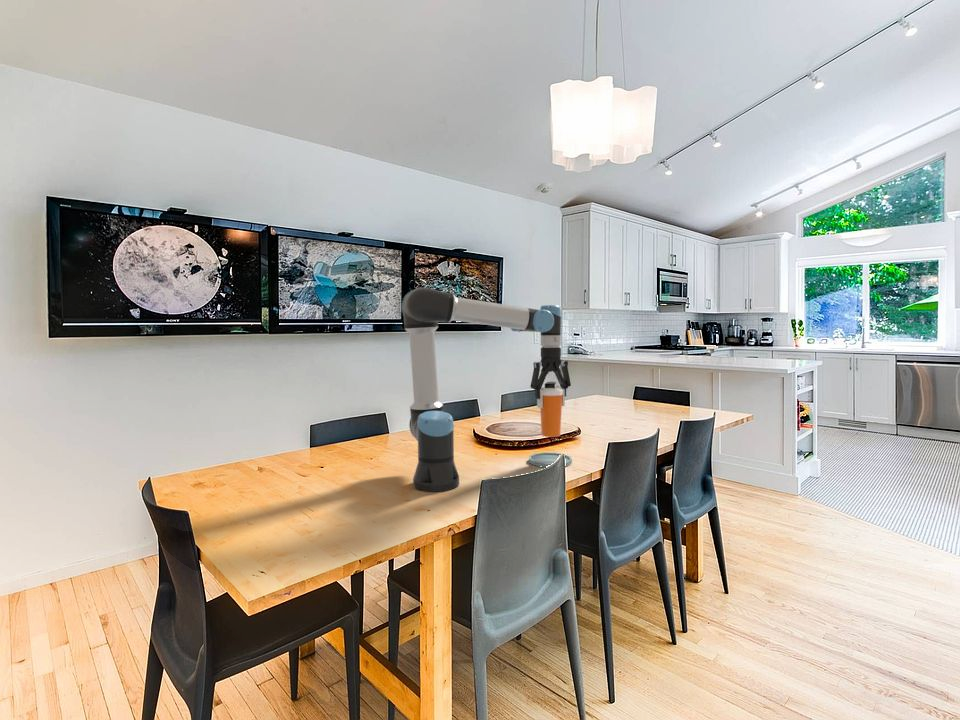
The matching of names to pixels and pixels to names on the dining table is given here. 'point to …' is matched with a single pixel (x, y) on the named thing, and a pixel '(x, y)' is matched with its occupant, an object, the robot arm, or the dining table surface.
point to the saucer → (547, 459)
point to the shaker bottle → (551, 410)
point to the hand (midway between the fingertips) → (550, 406)
